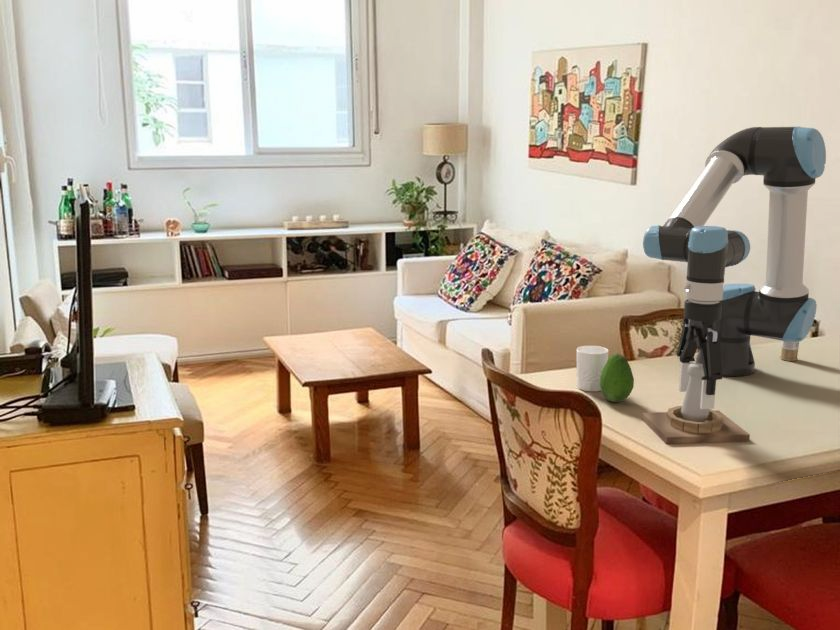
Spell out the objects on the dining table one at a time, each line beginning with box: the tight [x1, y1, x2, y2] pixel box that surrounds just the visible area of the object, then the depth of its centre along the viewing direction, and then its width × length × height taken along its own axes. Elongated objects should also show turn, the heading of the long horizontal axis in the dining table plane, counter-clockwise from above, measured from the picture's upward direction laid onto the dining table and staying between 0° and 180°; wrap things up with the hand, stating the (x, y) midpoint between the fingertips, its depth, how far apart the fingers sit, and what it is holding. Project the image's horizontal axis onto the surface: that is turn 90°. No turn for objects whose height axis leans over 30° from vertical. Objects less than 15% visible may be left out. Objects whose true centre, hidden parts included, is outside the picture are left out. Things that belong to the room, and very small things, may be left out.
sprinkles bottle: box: [780, 341, 800, 362], centre depth 234 cm, size 5×5×13 cm
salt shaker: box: [681, 362, 709, 422], centre depth 180 cm, size 6×6×13 cm
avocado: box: [600, 353, 635, 403], centre depth 199 cm, size 8×8×12 cm
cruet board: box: [641, 405, 751, 445], centre depth 181 cm, size 18×15×4 cm
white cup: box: [576, 345, 610, 392], centre depth 210 cm, size 8×8×10 cm
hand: (695, 399), depth 180 cm, fingers open, 11 cm apart
